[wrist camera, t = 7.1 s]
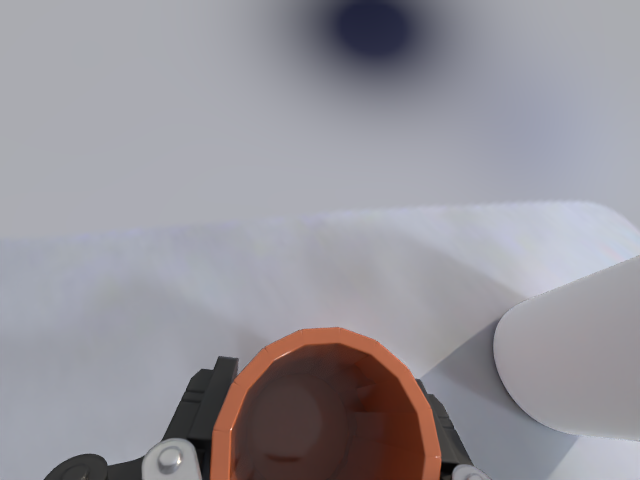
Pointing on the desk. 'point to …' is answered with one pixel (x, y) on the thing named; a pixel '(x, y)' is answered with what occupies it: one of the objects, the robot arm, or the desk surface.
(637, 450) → the desk surface
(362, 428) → the cup
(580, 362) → the pill bottle
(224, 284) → the desk surface
